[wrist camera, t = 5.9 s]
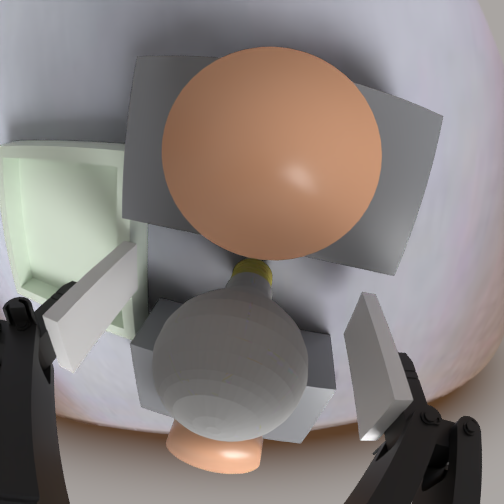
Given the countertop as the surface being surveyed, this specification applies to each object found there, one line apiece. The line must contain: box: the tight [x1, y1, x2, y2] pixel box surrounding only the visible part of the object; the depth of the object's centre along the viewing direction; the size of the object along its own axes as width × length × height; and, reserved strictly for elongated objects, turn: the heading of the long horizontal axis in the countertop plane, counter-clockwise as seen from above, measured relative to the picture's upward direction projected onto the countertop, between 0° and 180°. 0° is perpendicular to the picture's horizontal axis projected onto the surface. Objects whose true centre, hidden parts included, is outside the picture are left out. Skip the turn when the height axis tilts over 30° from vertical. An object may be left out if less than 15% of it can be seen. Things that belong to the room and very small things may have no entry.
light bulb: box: [152, 258, 308, 442], centre depth 12 cm, size 6×6×10 cm
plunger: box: [166, 419, 263, 474], centre depth 15 cm, size 5×5×6 cm
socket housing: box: [122, 56, 443, 443], centre depth 14 cm, size 11×20×4 cm, turn 170°
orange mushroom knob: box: [162, 47, 382, 260], centre depth 9 cm, size 5×5×6 cm
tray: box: [0, 140, 149, 340], centre depth 16 cm, size 12×12×2 cm
